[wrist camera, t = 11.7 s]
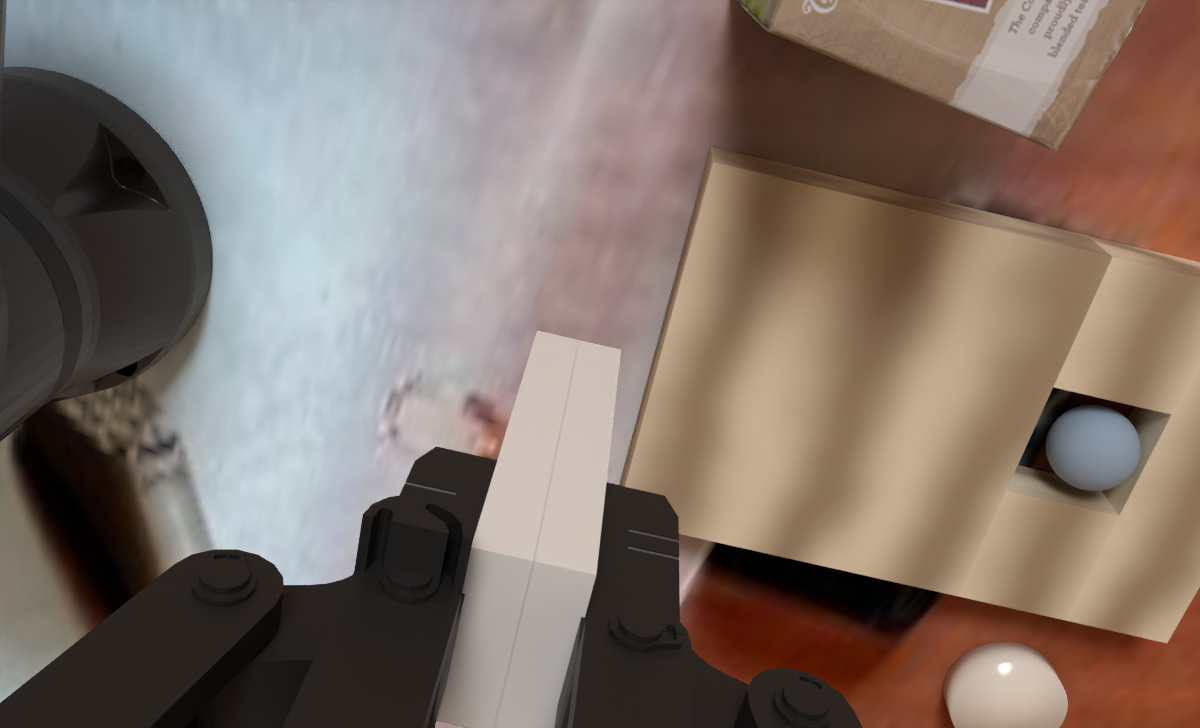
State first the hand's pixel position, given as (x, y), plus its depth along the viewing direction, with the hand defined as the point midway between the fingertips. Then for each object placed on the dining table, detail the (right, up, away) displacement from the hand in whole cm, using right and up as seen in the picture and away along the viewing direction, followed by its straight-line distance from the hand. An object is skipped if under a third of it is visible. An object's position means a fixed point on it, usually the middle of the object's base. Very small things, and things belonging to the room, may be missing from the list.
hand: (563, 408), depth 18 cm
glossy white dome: (+22, -17, +39) cm, 48 cm away
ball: (+24, -3, +30) cm, 38 cm away
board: (+17, -1, +32) cm, 36 cm away
